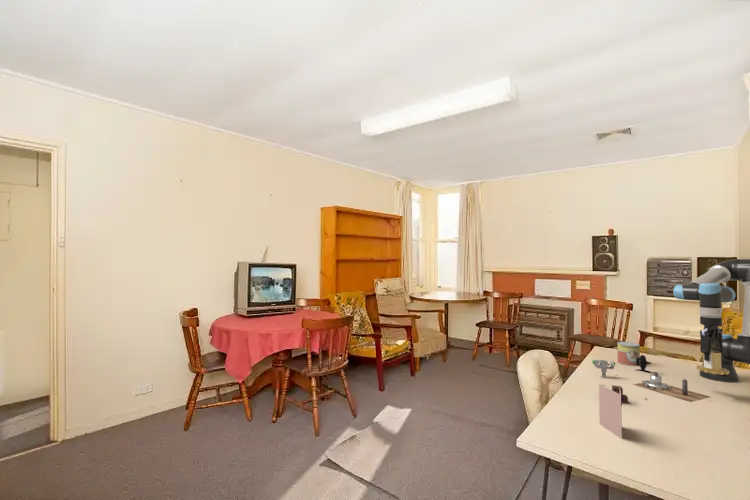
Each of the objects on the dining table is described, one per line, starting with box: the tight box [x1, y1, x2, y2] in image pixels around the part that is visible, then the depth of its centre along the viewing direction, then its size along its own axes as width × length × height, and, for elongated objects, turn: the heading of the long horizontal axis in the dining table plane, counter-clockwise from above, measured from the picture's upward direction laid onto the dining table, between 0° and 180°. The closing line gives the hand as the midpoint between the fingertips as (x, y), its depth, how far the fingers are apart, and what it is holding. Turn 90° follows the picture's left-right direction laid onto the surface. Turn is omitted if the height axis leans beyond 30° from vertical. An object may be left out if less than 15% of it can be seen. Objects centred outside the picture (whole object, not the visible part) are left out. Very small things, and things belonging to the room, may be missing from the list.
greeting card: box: [598, 383, 624, 439], centre depth 132 cm, size 11×7×15 cm, turn 148°
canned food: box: [616, 341, 641, 367], centre depth 221 cm, size 11×11×12 cm
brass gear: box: [695, 350, 729, 375], centre depth 167 cm, size 11×11×9 cm
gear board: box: [632, 371, 711, 403], centre depth 170 cm, size 16×24×8 cm, turn 23°
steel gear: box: [641, 374, 671, 390], centre depth 176 cm, size 11×11×5 cm
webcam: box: [634, 354, 652, 374], centre depth 202 cm, size 8×8×10 cm
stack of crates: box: [611, 384, 629, 405], centre depth 161 cm, size 15×15×7 cm
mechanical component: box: [592, 359, 616, 379], centre depth 189 cm, size 3×10×10 cm, turn 79°
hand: (712, 366), depth 167 cm, fingers closed on brass gear, 6 cm apart
